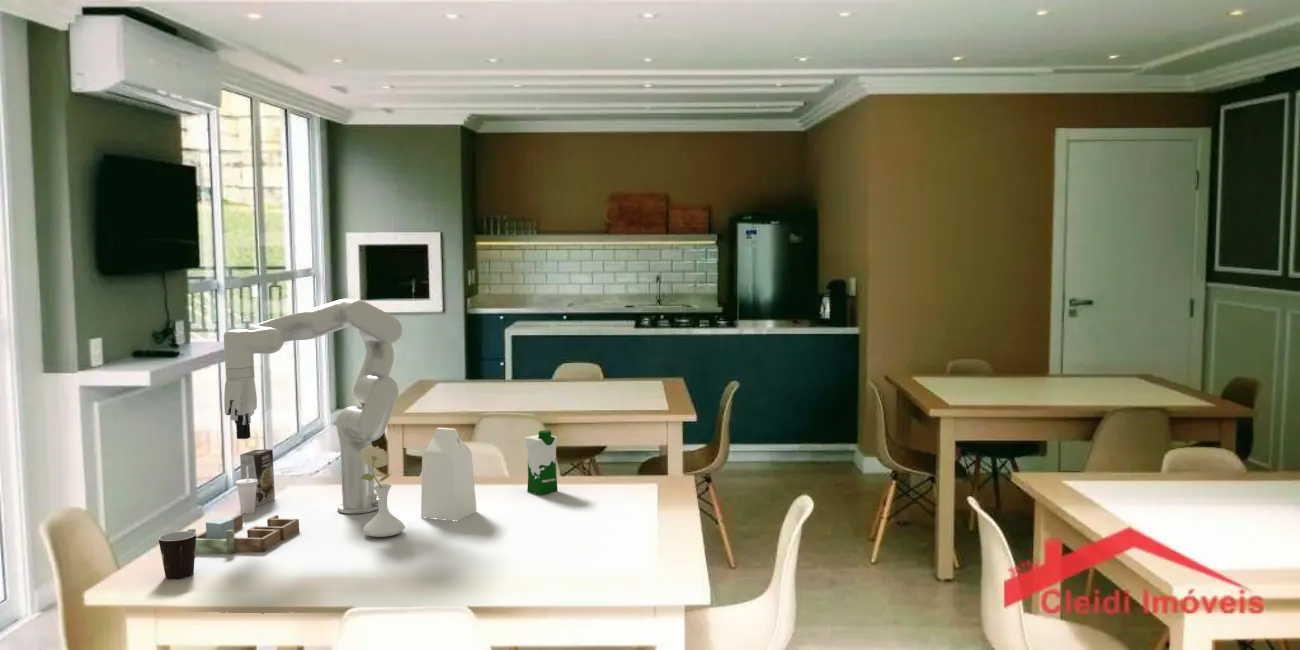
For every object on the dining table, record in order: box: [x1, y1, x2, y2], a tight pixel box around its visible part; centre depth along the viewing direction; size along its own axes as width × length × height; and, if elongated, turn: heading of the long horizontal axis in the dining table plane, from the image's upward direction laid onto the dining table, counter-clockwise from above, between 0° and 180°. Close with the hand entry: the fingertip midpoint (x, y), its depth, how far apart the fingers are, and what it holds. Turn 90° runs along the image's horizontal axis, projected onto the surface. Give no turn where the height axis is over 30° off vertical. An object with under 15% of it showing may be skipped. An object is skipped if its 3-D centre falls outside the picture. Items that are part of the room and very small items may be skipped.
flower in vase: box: [360, 445, 406, 538], centre depth 298 cm, size 13×11×25 cm
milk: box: [420, 427, 478, 522], centre depth 318 cm, size 12×12×26 cm
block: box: [205, 517, 236, 539], centre depth 290 cm, size 5×5×7 cm
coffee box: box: [239, 448, 276, 506], centre depth 338 cm, size 9×6×16 cm
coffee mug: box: [157, 530, 197, 580], centre depth 264 cm, size 12×9×10 cm
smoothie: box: [235, 466, 258, 514], centre depth 326 cm, size 6×6×14 cm
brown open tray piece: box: [186, 514, 300, 555], centre depth 296 cm, size 20×26×6 cm
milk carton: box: [524, 429, 559, 496], centre depth 345 cm, size 9×9×20 cm
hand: (243, 438), depth 301 cm, fingers closed
